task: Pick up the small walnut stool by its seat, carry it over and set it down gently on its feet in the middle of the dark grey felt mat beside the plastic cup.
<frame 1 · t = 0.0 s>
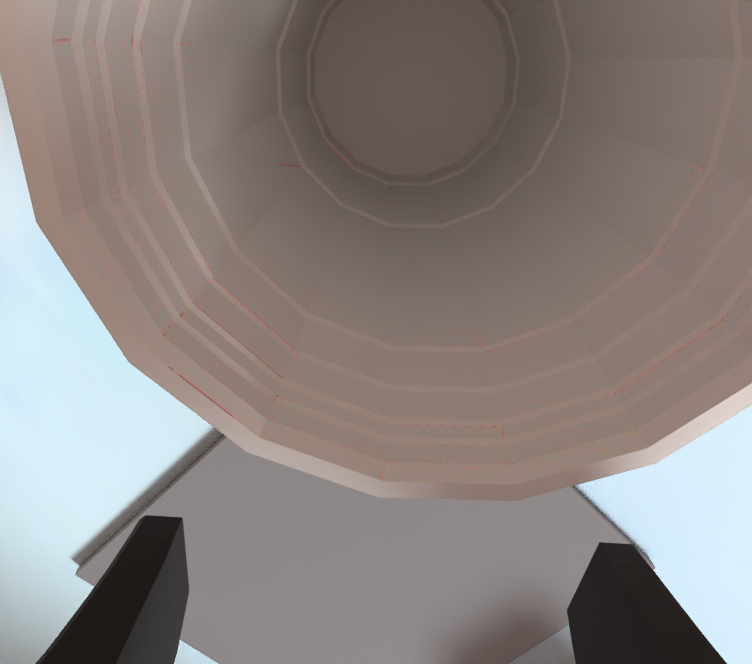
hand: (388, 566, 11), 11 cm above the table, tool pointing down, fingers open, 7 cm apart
mat: (370, 563, 25), on the table
plastic cup: (405, 84, 18), on the table
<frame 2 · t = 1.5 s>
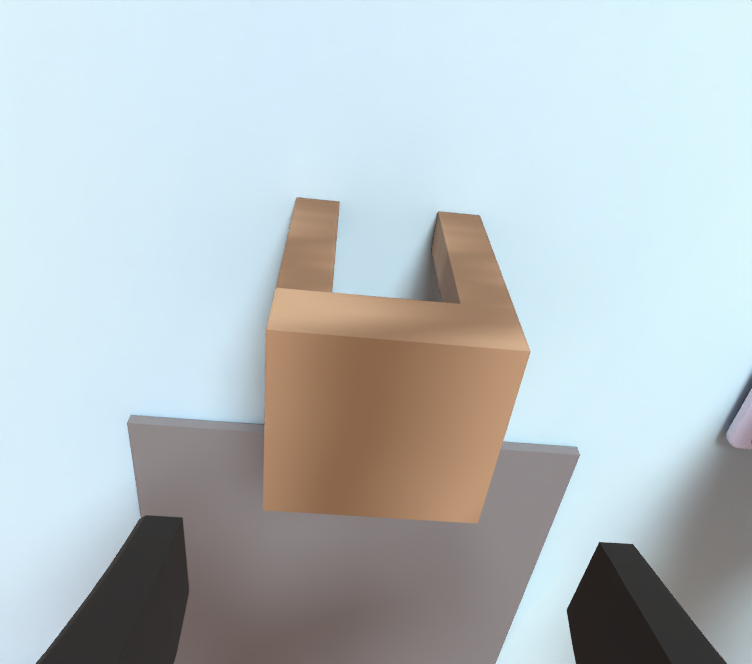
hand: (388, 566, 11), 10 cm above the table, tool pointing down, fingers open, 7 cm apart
stool: (378, 286, 19), on the table
mat: (341, 569, 27), on the table
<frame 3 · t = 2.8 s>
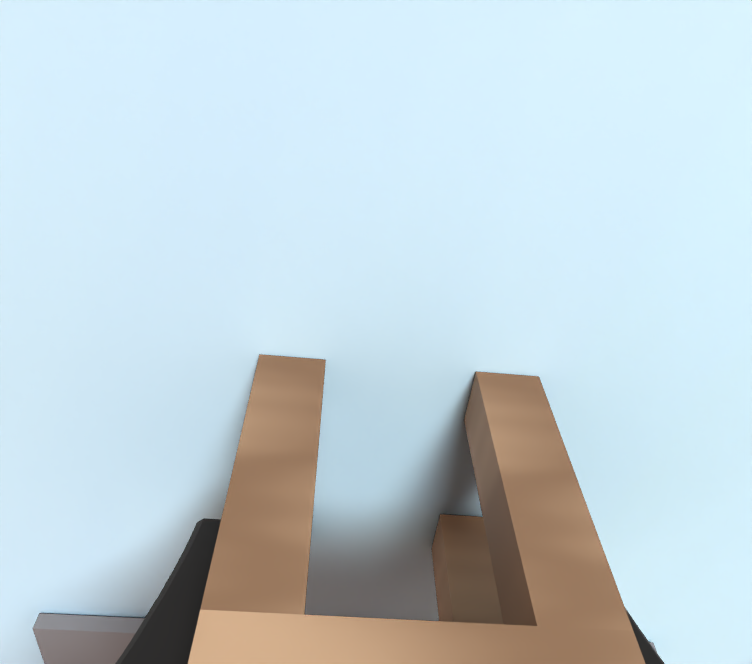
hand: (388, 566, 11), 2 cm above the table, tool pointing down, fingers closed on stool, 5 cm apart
stool: (384, 465, 13), on the table, touching gripper
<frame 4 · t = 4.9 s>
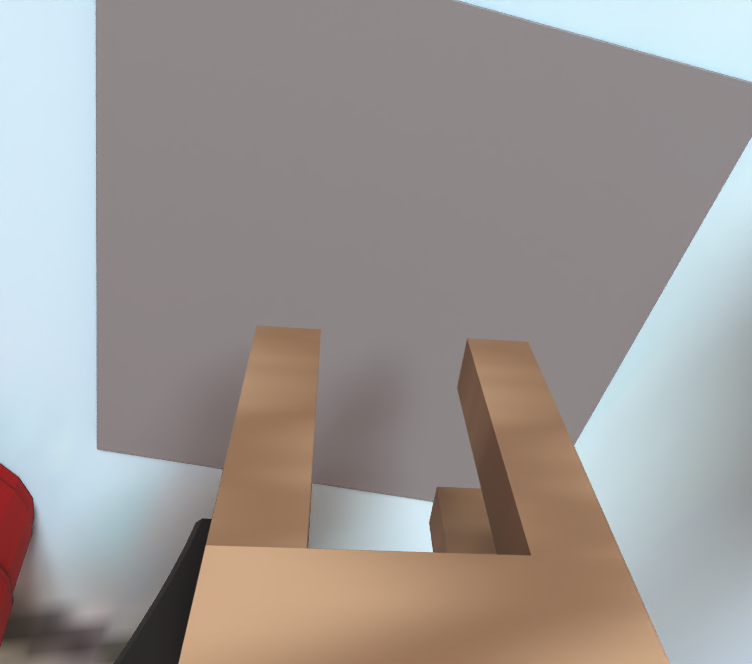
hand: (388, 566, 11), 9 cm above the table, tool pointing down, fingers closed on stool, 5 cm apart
stool: (381, 436, 13), point 6 cm above the table, touching gripper
mat: (378, 293, 19), on the table
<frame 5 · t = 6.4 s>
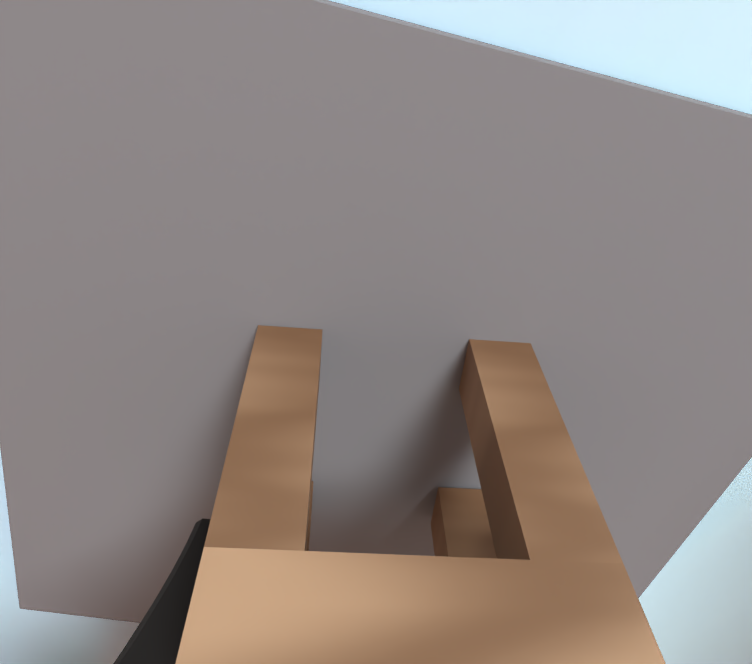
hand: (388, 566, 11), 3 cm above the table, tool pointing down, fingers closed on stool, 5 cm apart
stool: (382, 437, 13), resting on mat, touching gripper
mat: (385, 430, 14), on the table
when the fingers open (3 cm above the table, at t = 7.1 s): stool stays where it is, resting on mat.
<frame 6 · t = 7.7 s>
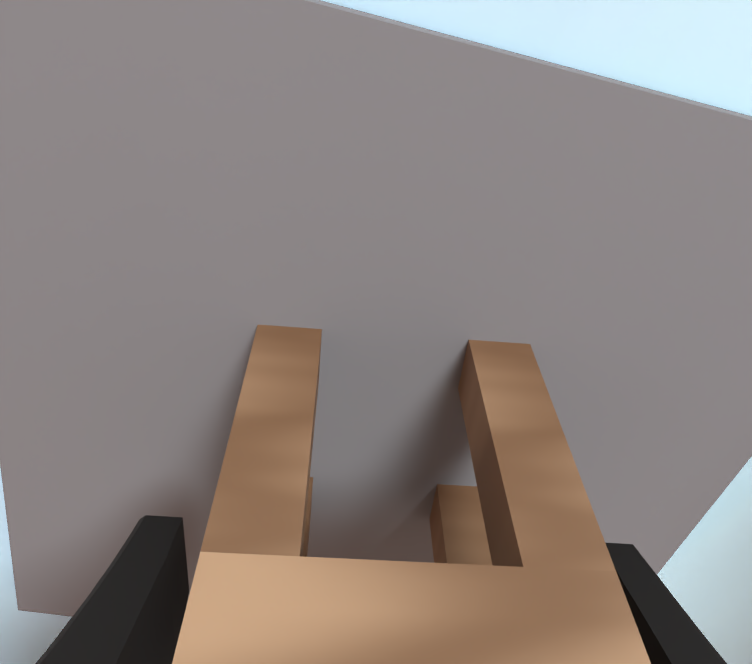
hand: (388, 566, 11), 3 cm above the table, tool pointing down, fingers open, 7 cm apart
stool: (381, 435, 13), resting on mat
mat: (383, 432, 14), on the table
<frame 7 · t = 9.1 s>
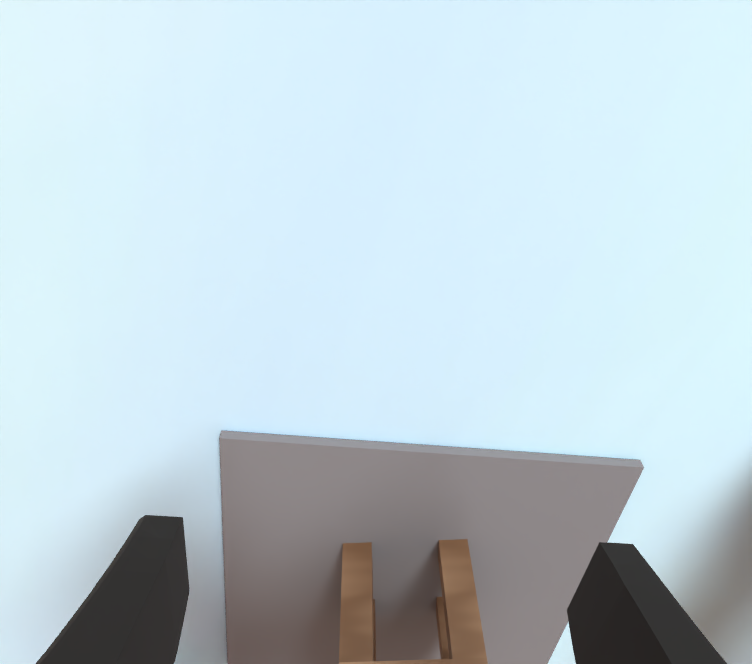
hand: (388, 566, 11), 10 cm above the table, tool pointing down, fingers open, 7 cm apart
stool: (405, 579, 28), resting on mat
mat: (406, 574, 28), on the table
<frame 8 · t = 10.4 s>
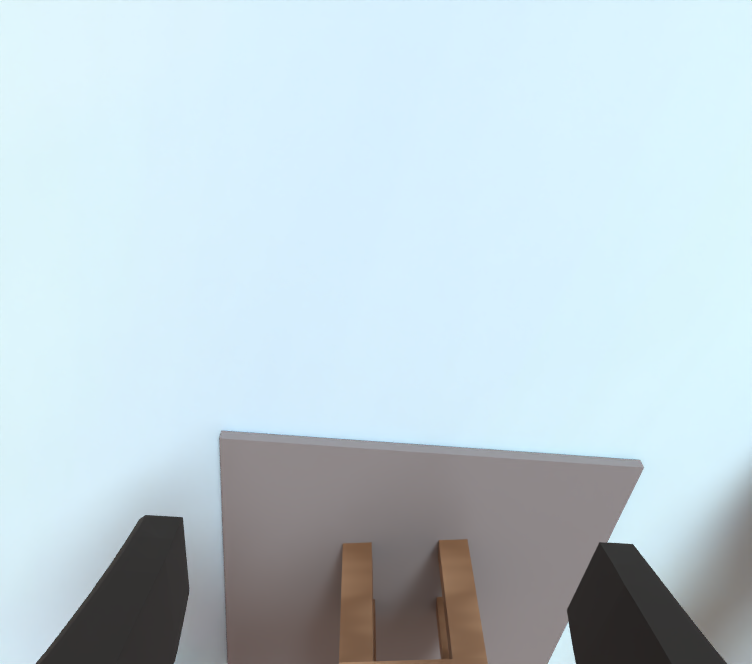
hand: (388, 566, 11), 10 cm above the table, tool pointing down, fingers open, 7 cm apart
stool: (405, 579, 28), resting on mat
mat: (406, 575, 28), on the table
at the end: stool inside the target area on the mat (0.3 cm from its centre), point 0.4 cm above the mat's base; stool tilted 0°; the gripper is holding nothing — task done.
